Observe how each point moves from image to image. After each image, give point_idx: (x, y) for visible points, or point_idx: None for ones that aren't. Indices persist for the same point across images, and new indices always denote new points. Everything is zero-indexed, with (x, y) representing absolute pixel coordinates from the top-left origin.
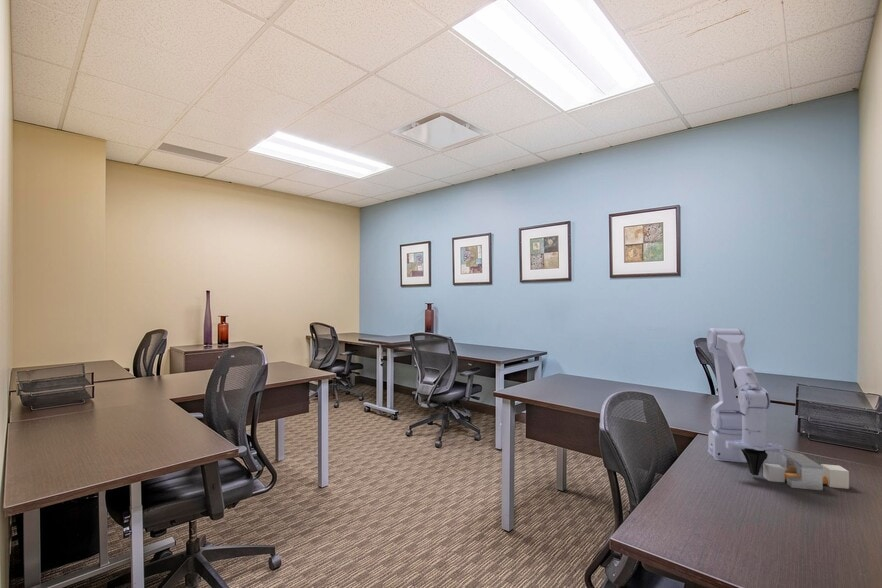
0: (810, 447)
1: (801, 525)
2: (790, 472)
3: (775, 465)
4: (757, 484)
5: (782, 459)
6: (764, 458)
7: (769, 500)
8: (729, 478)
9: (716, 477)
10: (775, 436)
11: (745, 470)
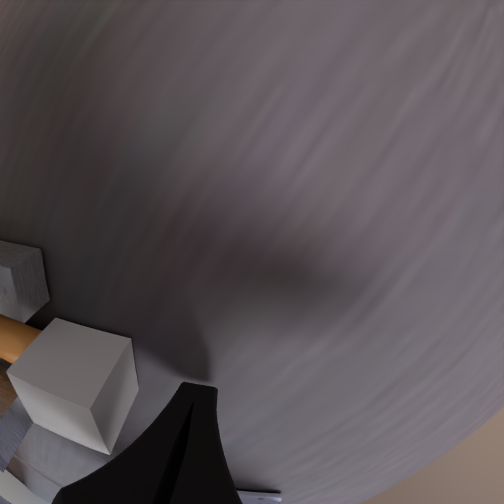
0: None
1: None
2: None
3: (47, 419)
4: (238, 294)
5: (17, 443)
6: (91, 487)
7: (327, 7)
8: (379, 362)
9: (443, 360)
10: None
11: None
